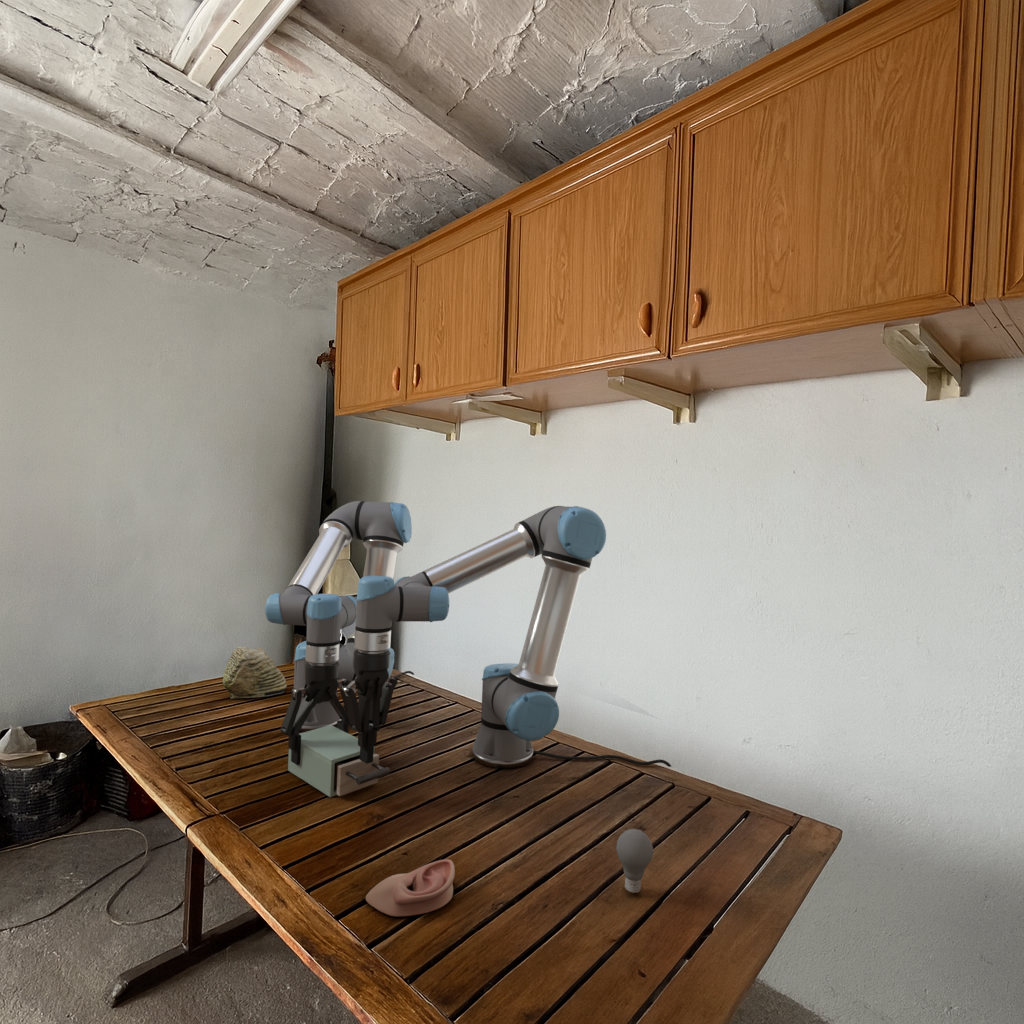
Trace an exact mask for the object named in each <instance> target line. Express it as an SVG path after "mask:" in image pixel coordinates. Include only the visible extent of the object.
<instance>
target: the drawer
mask: <svg viewBox="0 0 1024 1024" xmlns="http://www.w3.org/2000/svg"><path fill="white" fill-rule="evenodd" d="M390 774H391V770H390V767H389V766H385V767H383V766H382V765H380V754H378V753H374V754H373V762H371V763H368V764H367V763H365V762H363V761H361V760H360V755H358V756H355V757H352V758H349V759H346V760H342V761H339V762H336V763H335V770H334V789H336V790H337V795H336V796H338V797H342V796H345V795H347V794H350V793H353V792H355V791H358V790H361V789H364V788H366V787H369V786H372V785H375V784H377V783H379V778H382V777H385V776H387V775H390Z"/></svg>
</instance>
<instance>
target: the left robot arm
mask: <svg viewBox="0 0 1024 1024" xmlns="http://www.w3.org/2000/svg"><path fill="white" fill-rule="evenodd" d="M412 525H413V523H412V517H411V512H410V510H409V508H408V506H407V505H406V504H404V503H400V502H393V501H389V502H387V501H366V500H365V501H363V500H355V501H350V502H348V503H345V504H343V505H342V506H340V507H338V508H336V509H335V510H334V511H332V512H331V513H330V514H329V515H328V516H327V517H326V518H325V519H324V520H323V522H322V523H321V525H320V527H319V529H318V537H317V538H316V540H315V542H314V543H313V545H312V547H311V548H310V550H309V551H308V553H307V555H306V556H305V558H304V559H303V561H302V562H301V564H300V566H299V568H298V569H297V571H296V572H295V574H294V576H293V578H292V579H291V580H290V582H289V584H288V586H287V587H286V588H285V590H284V591H283V593H282V592H276V593H274V592H273V593H272V594H270V595H269V596H268V597H267V600H266V601H265V607H264V613H265V617H266V620H267V621H268V622H269V623H272V624H277V625H282V626H286V625H289V626H303V627H304V626H306V640H304V641H302V642H299V643H298V644H297V645H296V647H295V652H294V653H295V654H294V659H293V661H294V670H293V671H294V672H293V688H292V689H291V691H290V692H291V694H290V695H291V697H290V701H289V703H288V707H287V710H286V712H285V716H284V718H283V720H282V721H283V722H282V724H281V726H280V730H279V731H280V733H282V734H284V736H288V741H287V742H288V745H287V746H288V750H289V749H291V762H293V763H295V764H296V765H299V764H300V753H301V735H300V733H304V732H307V731H311V730H315V729H319V728H322V727H326V726H330V725H332V726H334V727H336V728H338V729H340V730H342V731H344V732H346V733H348V734H349V728H350V723H349V717H348V711H347V705H346V699H345V696H344V694H343V692H342V690H341V688H342V687H343V686H348V685H349V684H350V683H351V682H352V677H353V675H354V668H353V659H354V651H355V650H356V649H355V648H354V638H355V629H354V631H353V632H352V633H351V634H350V635H349V636H348V637H347V640H346V644H341V630H343V629H345V628H347V627H350V626H351V625H353V624H354V623H356V600H357V599H356V598H355V597H354V596H353V595H348V594H343V595H342V594H341V595H339V594H336V593H319V592H320V590H321V588H322V586H323V585H324V584H325V581H326V579H327V578H328V577H329V574H330V572H331V571H332V569H333V567H334V565H335V563H336V562H337V560H338V558H339V557H340V555H341V553H342V551H343V549H345V548H347V547H348V546H349V545H350V544H351V543H352V541H356V540H357V541H362V545H363V546H364V548H365V549H366V556H365V563H364V568H363V574H362V577H365V576H387V577H391V578H393V579H394V575H395V570H396V569H395V568H396V561H397V556H398V554H399V553H400V552H402V551H403V549H404V544H407V543H409V542H410V541H411V538H412V533H413V531H412V530H413V526H412ZM388 650H389V652H390V665H389V668H388V672H389V676H390V677H392V678H395V679H398V678H400V677H402V676H404V675H406V674H411V675H412V676H414V675H415V673H414V672H413V671H411V670H406V671H403V672H401V673H399V674H397V675H394V676H391V675H392V673H393V670H394V664H395V651H394V649H393V648H392V647H390V648H389V649H388ZM401 674H402V675H401ZM338 689H339V693H340V696H341V699H342V703H343V705H342V703H341V701H340V699H339V695H338ZM355 689H356V688H355ZM356 690H357V689H356ZM357 702H358V704H359V701H357Z"/></svg>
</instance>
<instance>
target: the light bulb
mask: <svg viewBox="0 0 1024 1024" xmlns="http://www.w3.org/2000/svg"><path fill="white" fill-rule="evenodd" d="M615 849H616V854H617V857H618V859H619V861H620V863H621V865H622V867H623V873H624V874H623V875H624V876H625V878H624V888H625V890H627V891H628V892H630V893H634V894H635V893H639V892H640V891H641V889H642V887H641V886H642V879H643V877H644V875H645V871H646V868H647V867H648V866H649V864H650V863H651V861H652V859H653V855H654V847H653V843H652V841H651V838H649V836H648V835H647V834H646V833H645V832H643V831H642V830H641V829H636V828H629V829H627V830H625V831H623V832H622V833H621V834H620V835H619V837H618V839H617V841H616V847H615Z"/></svg>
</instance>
